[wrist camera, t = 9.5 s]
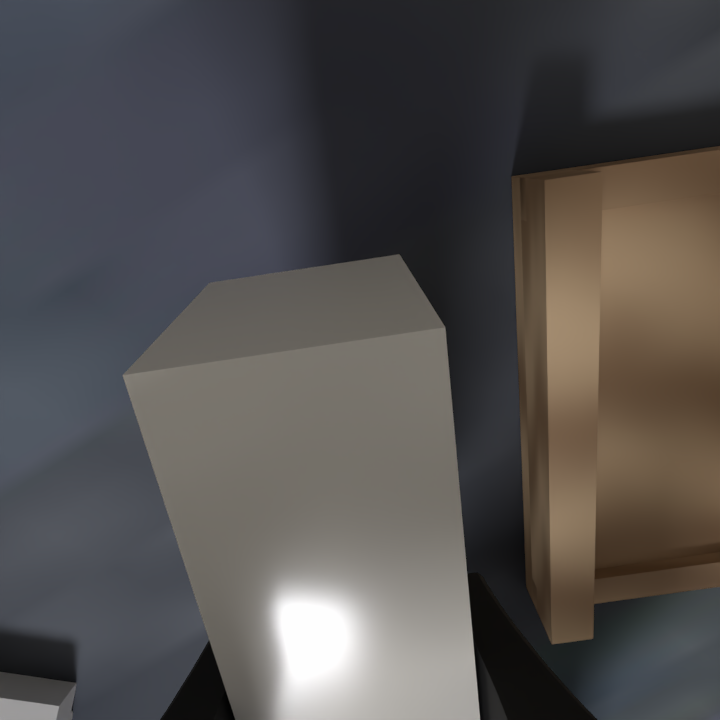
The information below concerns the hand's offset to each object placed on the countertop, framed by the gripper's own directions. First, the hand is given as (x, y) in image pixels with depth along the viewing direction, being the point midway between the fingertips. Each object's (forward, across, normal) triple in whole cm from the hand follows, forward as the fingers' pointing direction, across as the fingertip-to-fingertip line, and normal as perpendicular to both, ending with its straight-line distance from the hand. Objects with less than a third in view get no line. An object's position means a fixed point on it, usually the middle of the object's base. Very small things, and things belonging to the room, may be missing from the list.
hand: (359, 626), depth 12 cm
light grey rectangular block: (+2, 0, 0) cm, 3 cm away
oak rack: (+8, -11, 0) cm, 14 cm away
